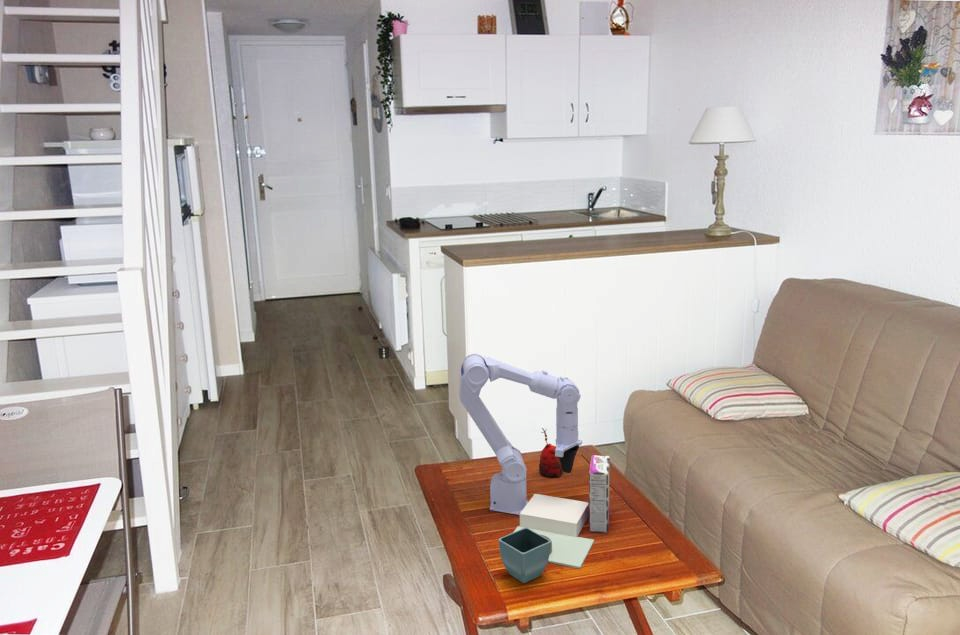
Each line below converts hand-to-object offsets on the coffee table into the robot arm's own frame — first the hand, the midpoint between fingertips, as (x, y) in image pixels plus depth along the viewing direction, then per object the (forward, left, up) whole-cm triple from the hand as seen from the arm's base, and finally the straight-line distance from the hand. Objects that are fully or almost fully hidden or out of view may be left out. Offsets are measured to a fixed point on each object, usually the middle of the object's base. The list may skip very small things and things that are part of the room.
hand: (567, 471), depth 201 cm
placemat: (+2, -23, -10) cm, 25 cm away
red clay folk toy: (-10, +17, -10) cm, 22 cm away
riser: (0, -11, -10) cm, 14 cm away
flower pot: (+1, -37, -10) cm, 38 cm away
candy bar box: (+11, -7, -10) cm, 16 cm away
